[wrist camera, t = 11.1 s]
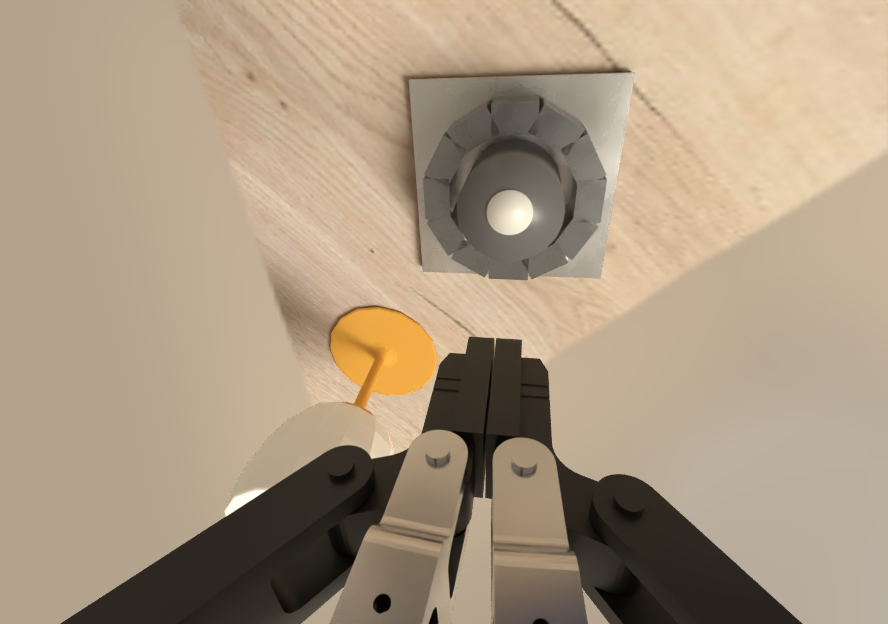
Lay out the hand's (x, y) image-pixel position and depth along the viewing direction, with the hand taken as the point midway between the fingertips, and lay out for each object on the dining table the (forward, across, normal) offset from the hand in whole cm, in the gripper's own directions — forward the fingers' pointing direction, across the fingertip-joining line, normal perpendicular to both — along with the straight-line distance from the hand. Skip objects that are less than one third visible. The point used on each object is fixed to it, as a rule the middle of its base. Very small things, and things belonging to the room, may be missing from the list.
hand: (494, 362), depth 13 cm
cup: (+18, +10, +14) cm, 25 cm away
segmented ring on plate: (+18, 0, 0) cm, 18 cm away
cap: (+17, 0, 0) cm, 17 cm away
